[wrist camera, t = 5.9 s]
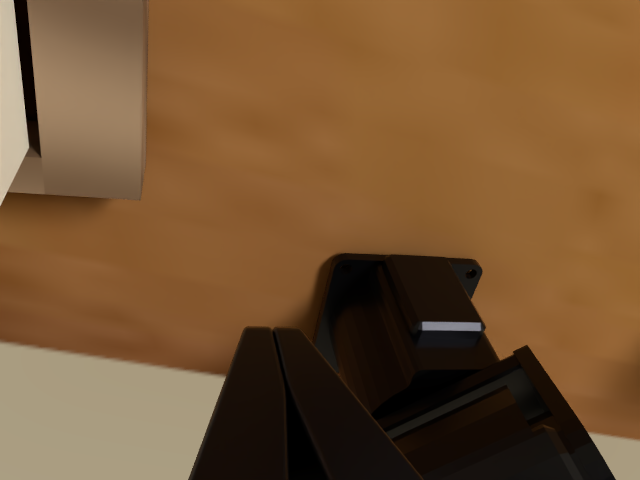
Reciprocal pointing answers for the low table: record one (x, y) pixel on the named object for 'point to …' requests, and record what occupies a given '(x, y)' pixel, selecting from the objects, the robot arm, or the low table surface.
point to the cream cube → (10, 100)
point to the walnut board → (87, 99)
